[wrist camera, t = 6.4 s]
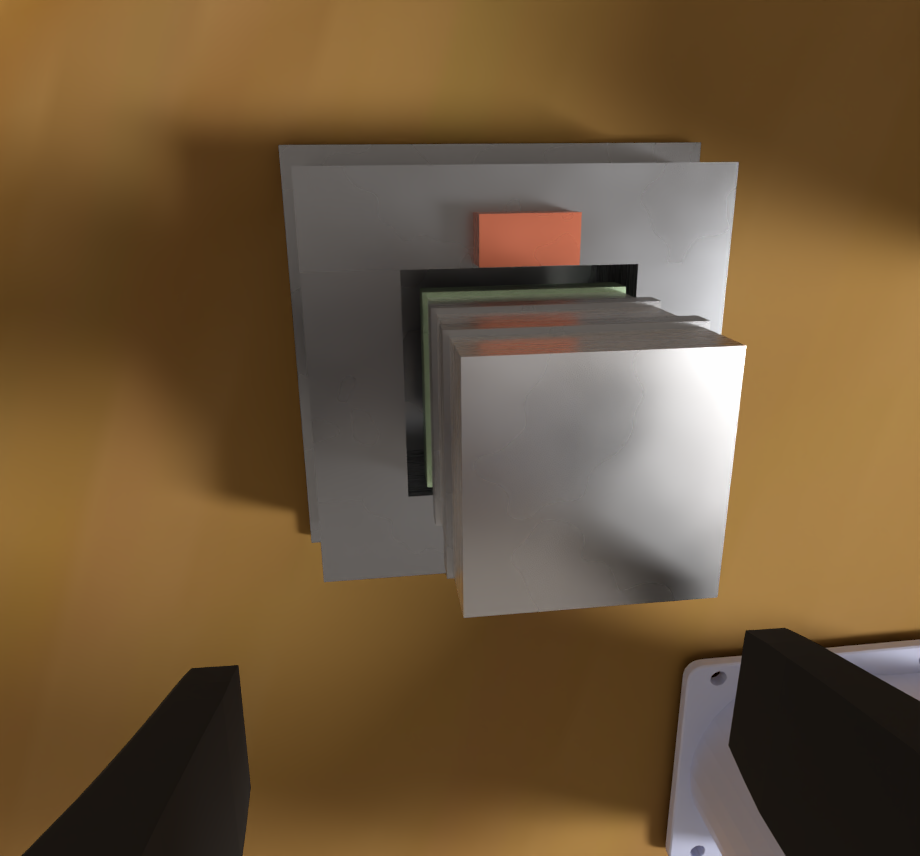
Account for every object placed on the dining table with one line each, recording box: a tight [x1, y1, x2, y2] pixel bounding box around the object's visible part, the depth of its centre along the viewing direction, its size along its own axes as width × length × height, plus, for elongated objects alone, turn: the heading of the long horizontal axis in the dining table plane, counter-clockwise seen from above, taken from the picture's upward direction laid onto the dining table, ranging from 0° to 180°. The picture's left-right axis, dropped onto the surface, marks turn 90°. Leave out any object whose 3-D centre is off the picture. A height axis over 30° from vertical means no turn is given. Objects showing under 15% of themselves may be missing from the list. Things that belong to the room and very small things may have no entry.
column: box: [420, 282, 746, 618], centre depth 14 cm, size 4×4×7 cm
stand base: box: [278, 143, 739, 582], centre depth 17 cm, size 10×10×4 cm
